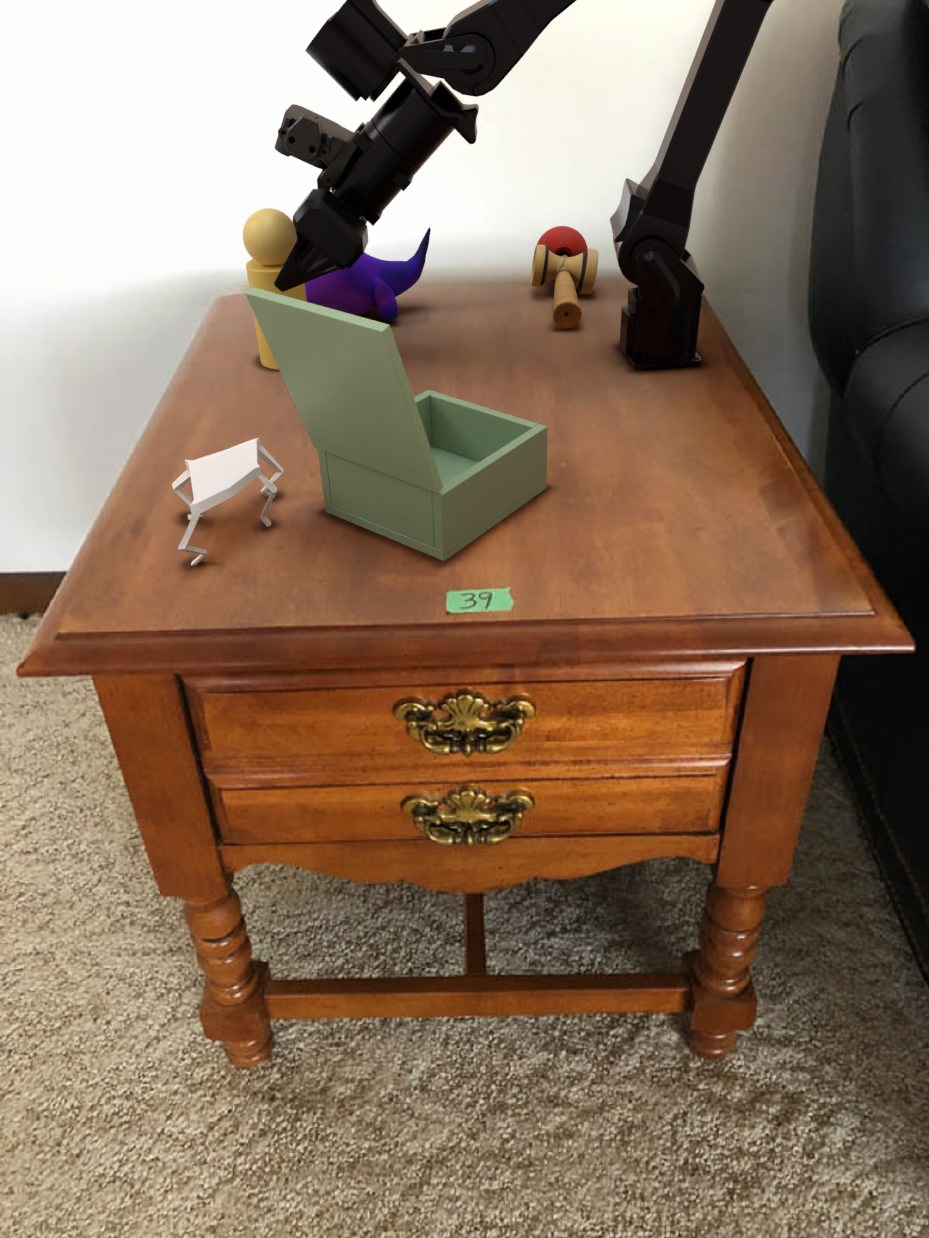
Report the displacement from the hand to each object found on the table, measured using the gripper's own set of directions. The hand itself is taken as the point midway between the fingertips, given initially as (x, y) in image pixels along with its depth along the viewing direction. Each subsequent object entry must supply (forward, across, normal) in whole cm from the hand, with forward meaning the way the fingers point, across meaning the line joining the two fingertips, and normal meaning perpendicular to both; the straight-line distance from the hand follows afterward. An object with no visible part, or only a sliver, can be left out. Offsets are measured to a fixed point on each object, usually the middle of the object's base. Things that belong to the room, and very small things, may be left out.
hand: (287, 271), depth 97 cm
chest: (-5, +28, +17) cm, 33 cm away
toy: (+3, -12, +10) cm, 16 cm away
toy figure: (+7, 0, +5) cm, 9 cm away
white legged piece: (+6, +32, +6) cm, 33 cm away
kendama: (-13, -16, +25) cm, 32 cm away
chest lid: (-10, +34, +5) cm, 36 cm away
